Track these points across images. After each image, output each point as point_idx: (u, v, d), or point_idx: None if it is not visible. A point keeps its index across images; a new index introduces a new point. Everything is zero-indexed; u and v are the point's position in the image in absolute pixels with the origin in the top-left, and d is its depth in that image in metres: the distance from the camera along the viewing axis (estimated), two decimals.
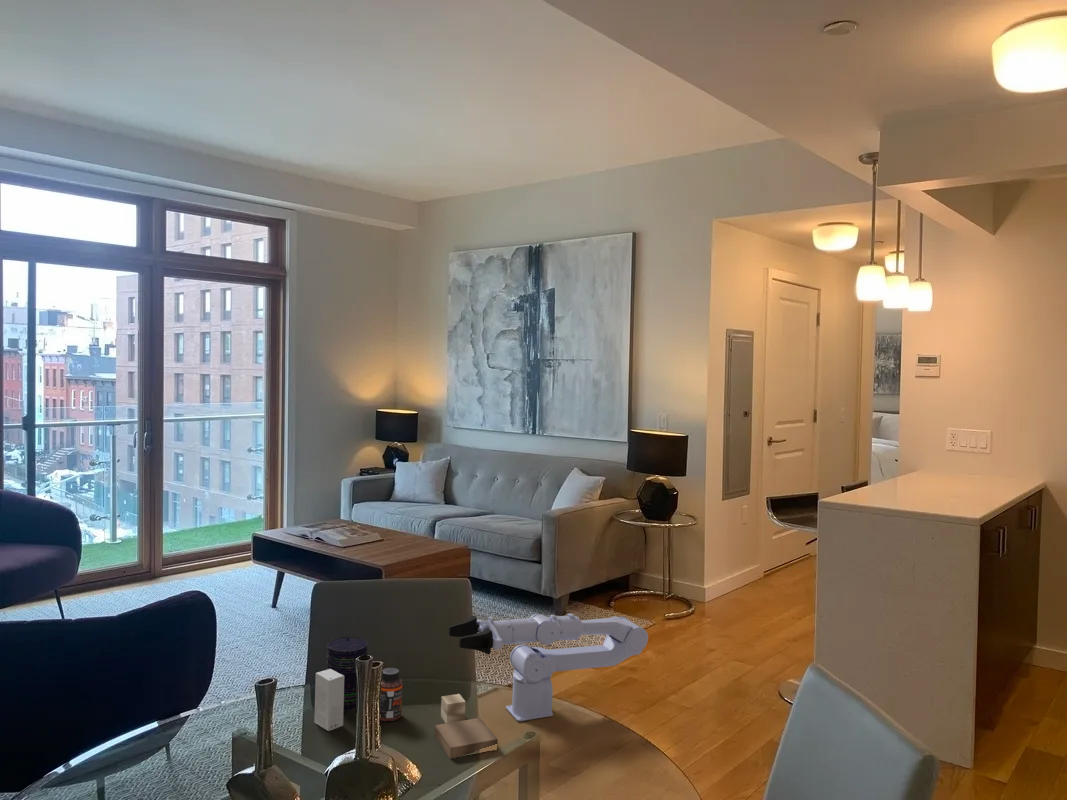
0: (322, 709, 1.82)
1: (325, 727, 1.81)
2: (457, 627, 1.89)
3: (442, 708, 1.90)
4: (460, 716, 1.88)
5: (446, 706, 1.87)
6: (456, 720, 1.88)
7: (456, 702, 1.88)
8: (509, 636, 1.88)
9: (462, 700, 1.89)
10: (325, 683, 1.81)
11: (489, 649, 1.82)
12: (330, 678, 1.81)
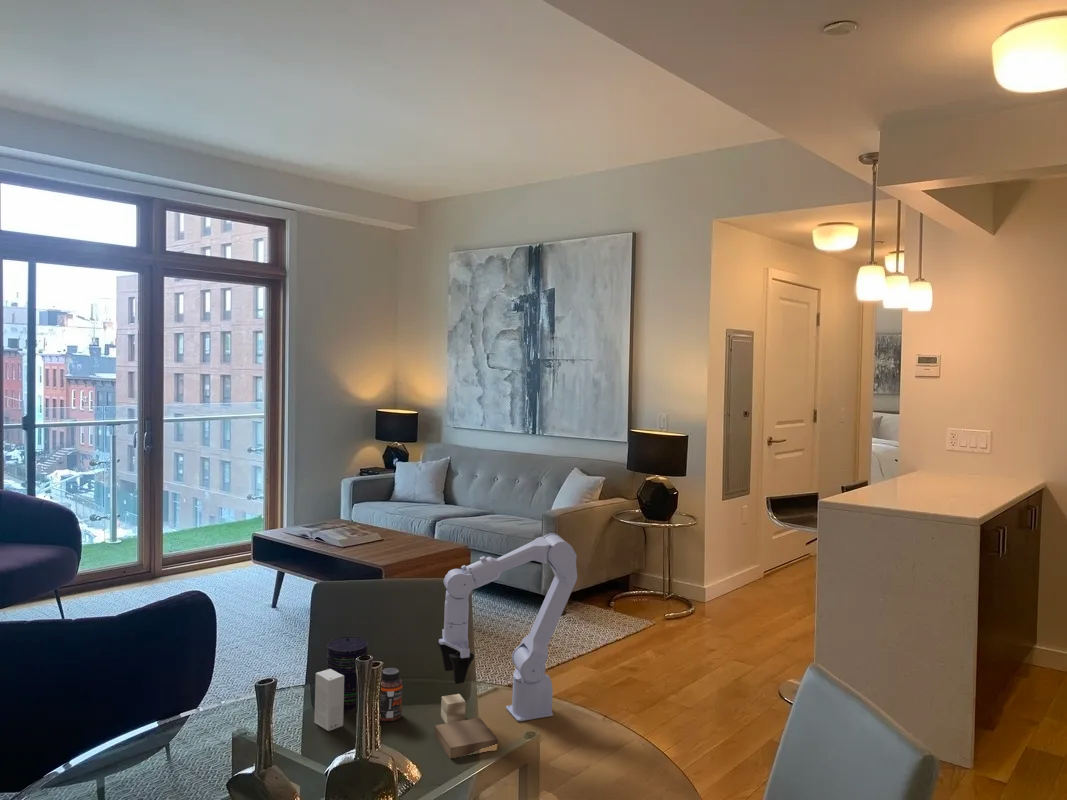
0: (322, 709, 1.82)
1: (325, 727, 1.81)
2: (446, 663, 1.92)
3: (442, 708, 1.90)
4: (460, 716, 1.88)
5: (446, 706, 1.87)
6: (456, 720, 1.88)
7: (456, 702, 1.88)
8: (460, 627, 1.86)
9: (462, 700, 1.89)
10: (325, 683, 1.81)
11: (469, 658, 1.84)
12: (330, 678, 1.81)
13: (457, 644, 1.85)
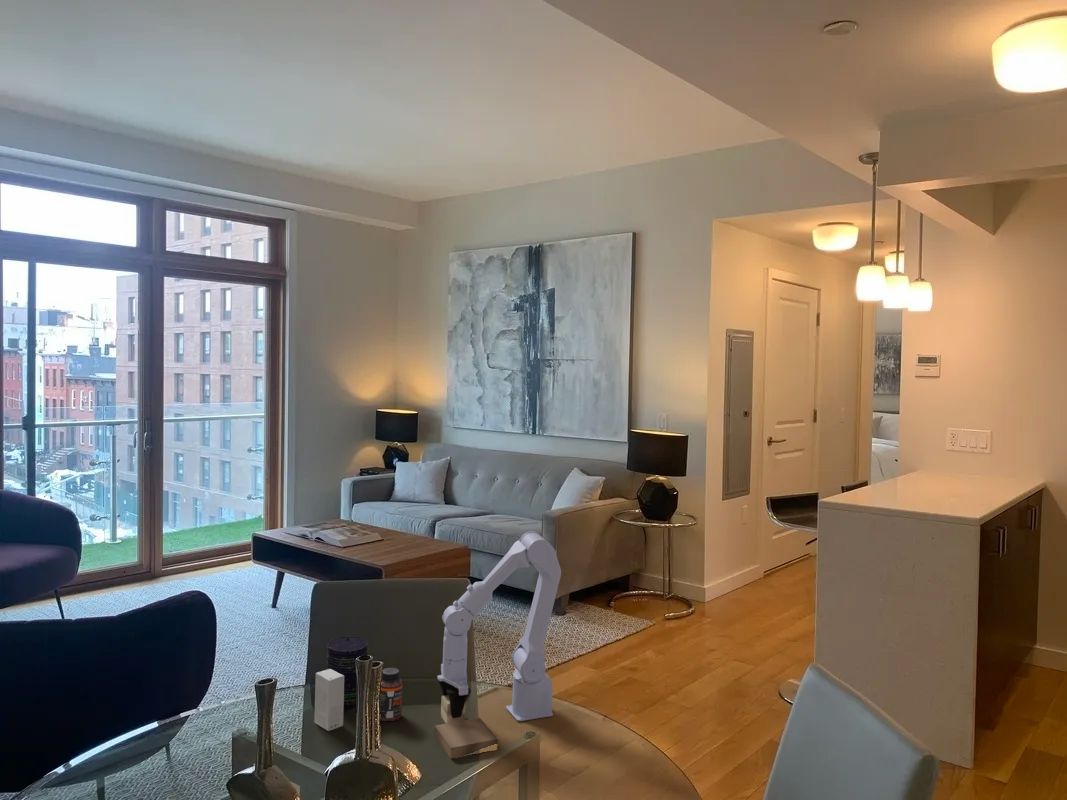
0: (322, 709, 1.82)
1: (325, 727, 1.81)
2: None
3: (442, 708, 1.90)
4: None
5: (446, 706, 1.87)
6: (456, 720, 1.88)
7: None
8: (458, 664, 1.86)
9: None
10: (325, 683, 1.81)
11: None
12: (330, 678, 1.81)
13: (456, 681, 1.86)
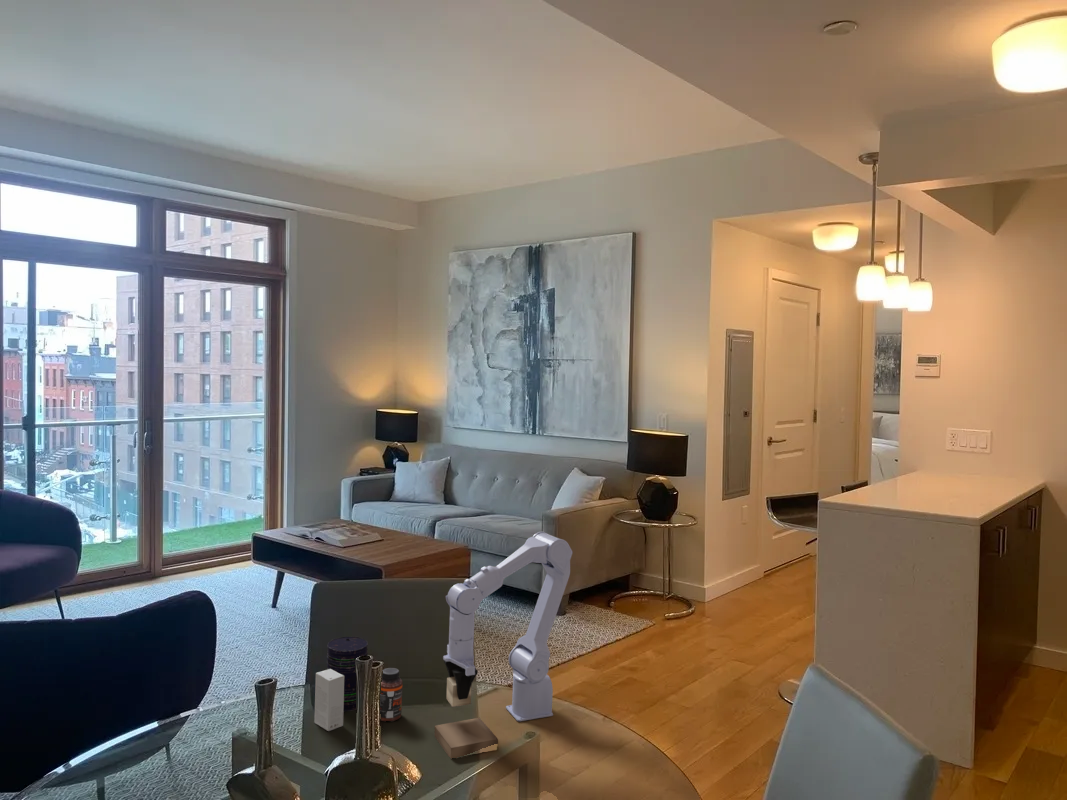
0: (322, 709, 1.82)
1: (325, 727, 1.81)
2: None
3: (448, 690, 1.84)
4: None
5: (452, 687, 1.81)
6: (462, 702, 1.82)
7: None
8: (465, 644, 1.81)
9: None
10: (325, 683, 1.81)
11: None
12: (330, 678, 1.81)
13: (462, 661, 1.81)
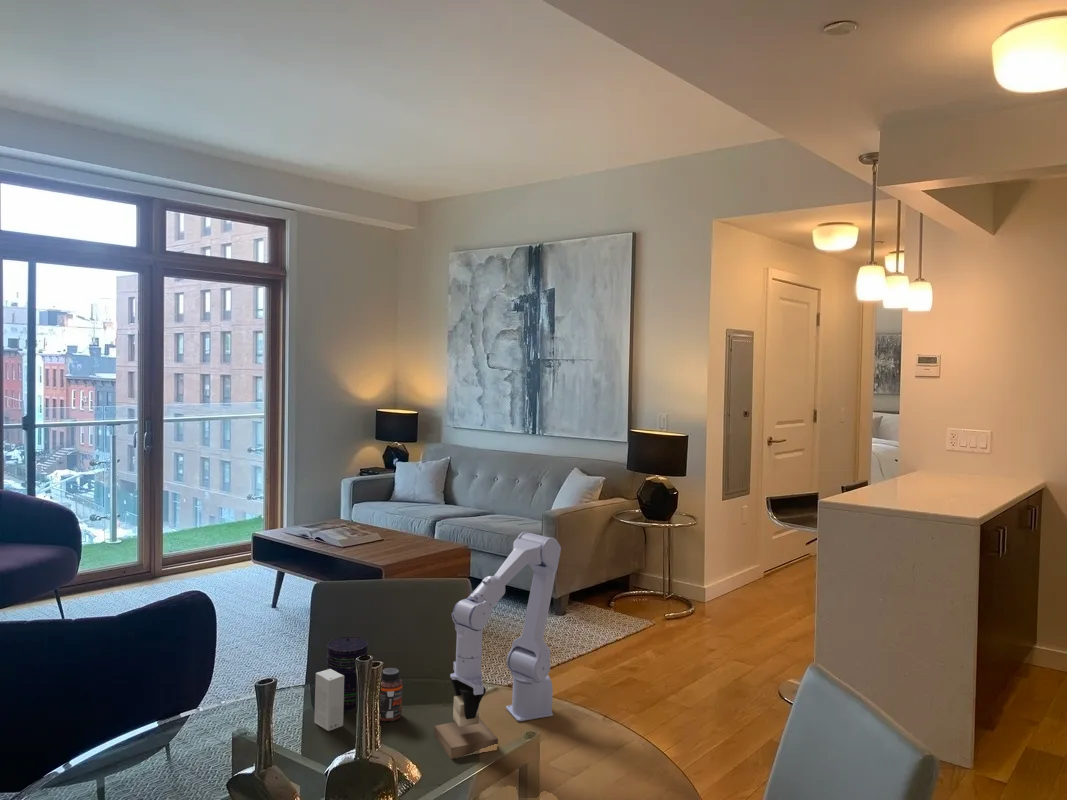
0: (322, 709, 1.82)
1: (325, 727, 1.81)
2: None
3: (454, 709, 1.78)
4: None
5: (459, 707, 1.75)
6: (469, 722, 1.76)
7: None
8: (473, 662, 1.75)
9: None
10: (325, 683, 1.81)
11: None
12: (330, 678, 1.81)
13: (470, 679, 1.74)
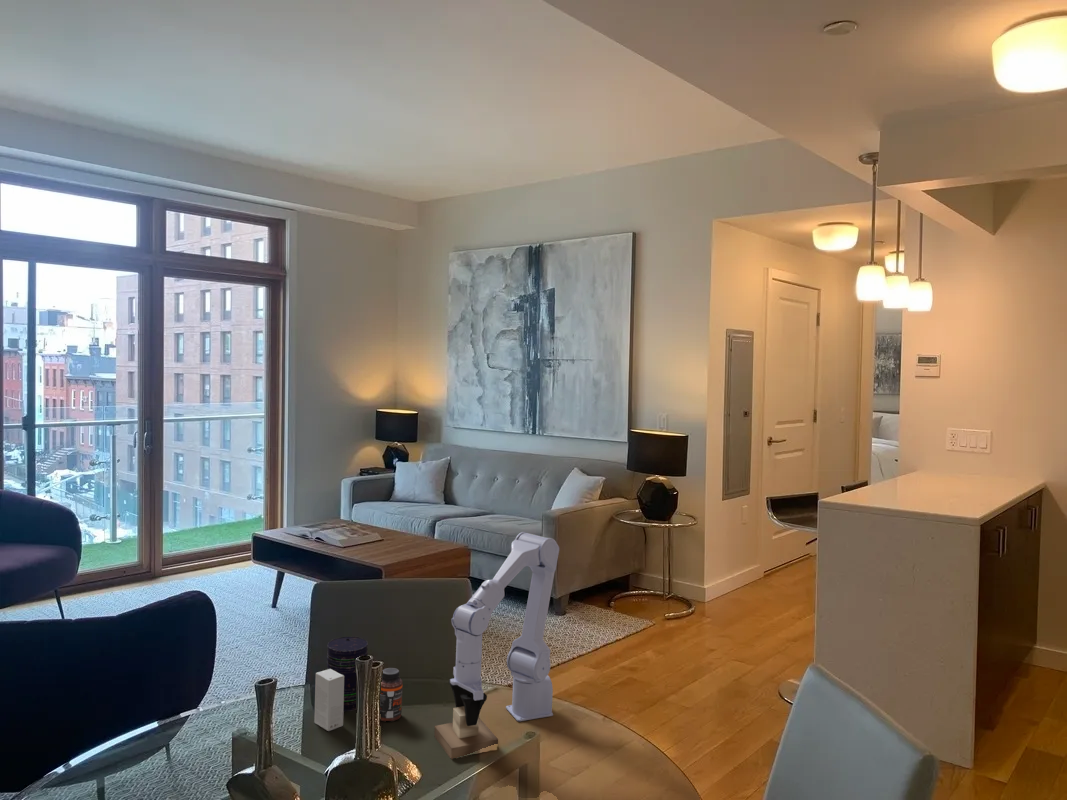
0: (322, 709, 1.82)
1: (325, 727, 1.81)
2: (459, 704, 1.80)
3: (454, 720, 1.78)
4: (474, 729, 1.76)
5: (459, 718, 1.75)
6: (469, 733, 1.76)
7: None
8: (472, 667, 1.75)
9: None
10: (325, 683, 1.81)
11: (482, 699, 1.73)
12: (329, 678, 1.81)
13: (470, 685, 1.74)
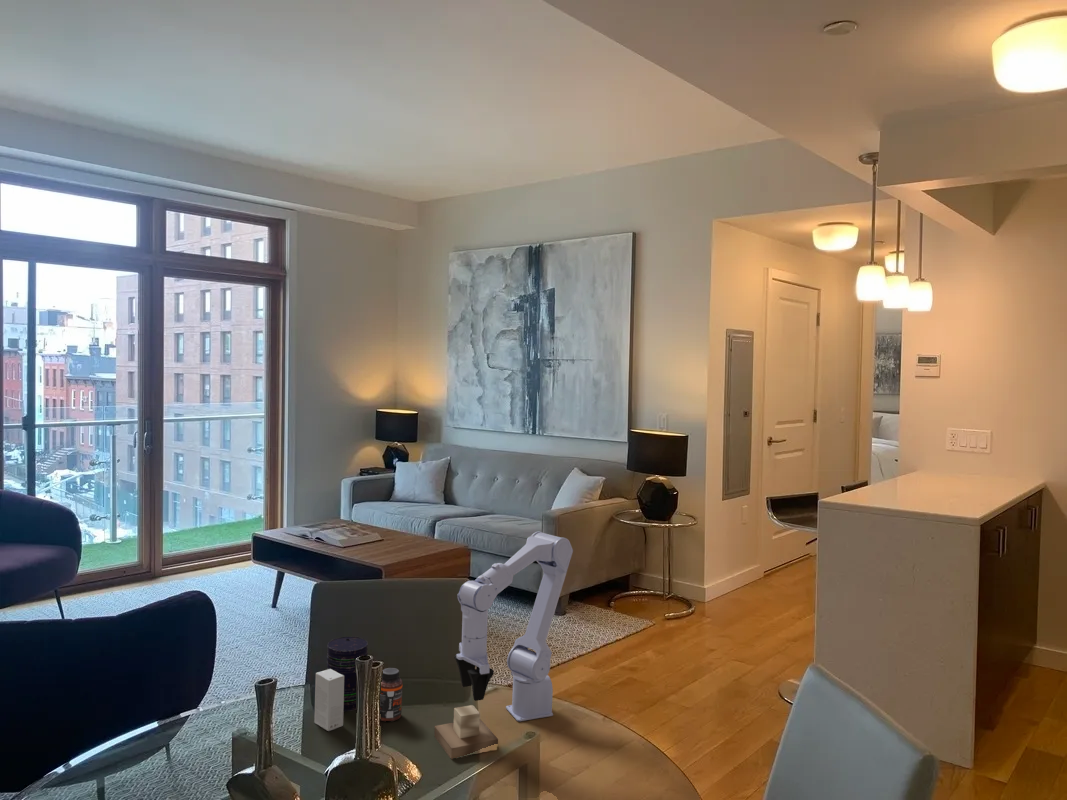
0: (322, 709, 1.82)
1: (325, 727, 1.81)
2: (464, 678, 1.84)
3: (455, 720, 1.78)
4: (474, 729, 1.77)
5: (460, 718, 1.75)
6: (470, 733, 1.76)
7: (470, 713, 1.76)
8: (478, 642, 1.77)
9: (476, 712, 1.77)
10: (325, 683, 1.81)
11: (488, 674, 1.75)
12: (330, 678, 1.81)
13: (476, 659, 1.77)
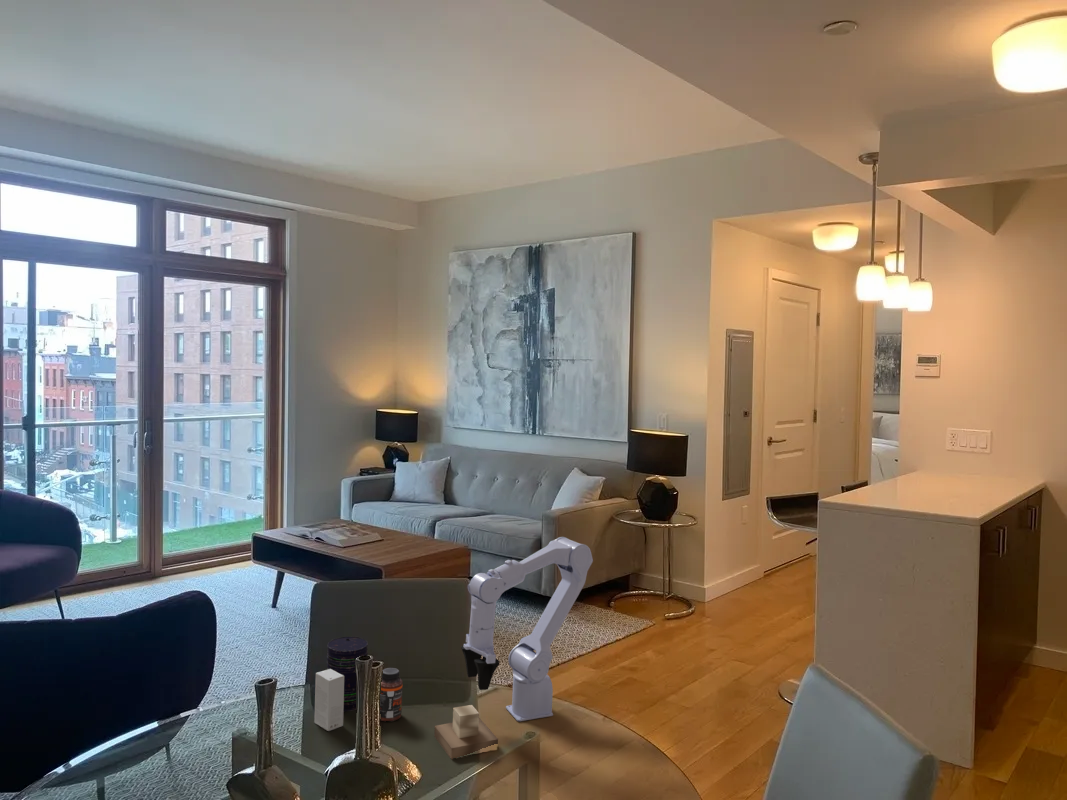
0: (322, 709, 1.82)
1: (325, 727, 1.81)
2: (470, 669, 1.89)
3: (454, 720, 1.78)
4: (473, 729, 1.77)
5: (459, 718, 1.75)
6: (469, 733, 1.76)
7: (469, 713, 1.76)
8: (486, 632, 1.83)
9: (475, 712, 1.77)
10: (325, 683, 1.81)
11: (494, 664, 1.81)
12: (330, 678, 1.81)
13: (482, 649, 1.83)
